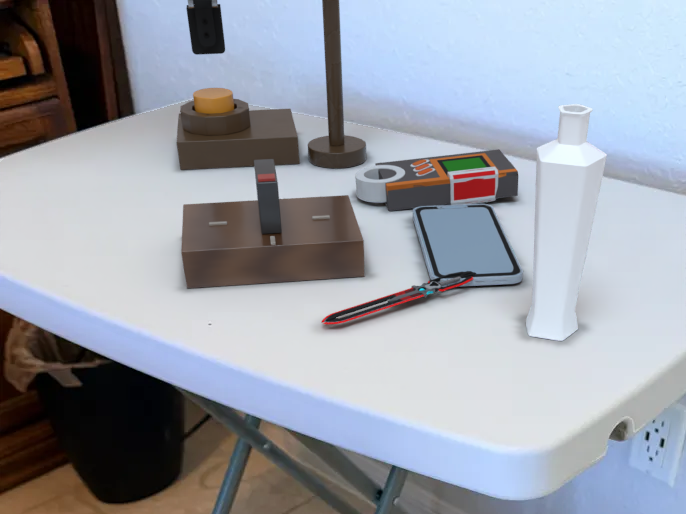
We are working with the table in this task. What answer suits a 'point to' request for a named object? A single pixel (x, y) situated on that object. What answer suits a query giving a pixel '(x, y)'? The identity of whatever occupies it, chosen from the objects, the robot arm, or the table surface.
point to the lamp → (335, 103)
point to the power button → (213, 100)
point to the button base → (235, 137)
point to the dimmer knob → (267, 196)
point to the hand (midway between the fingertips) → (209, 51)
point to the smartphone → (466, 244)
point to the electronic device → (439, 180)
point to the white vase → (563, 222)
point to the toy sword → (400, 297)
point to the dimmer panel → (271, 242)
